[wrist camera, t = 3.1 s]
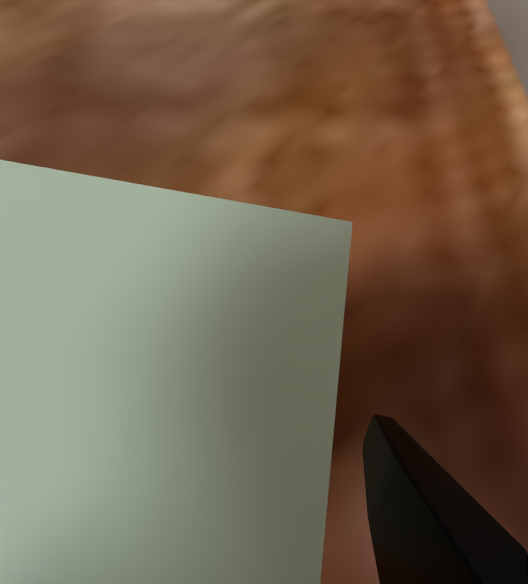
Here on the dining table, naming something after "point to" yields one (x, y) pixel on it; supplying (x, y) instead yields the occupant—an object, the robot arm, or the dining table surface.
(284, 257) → the pillar
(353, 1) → the dining table surface
